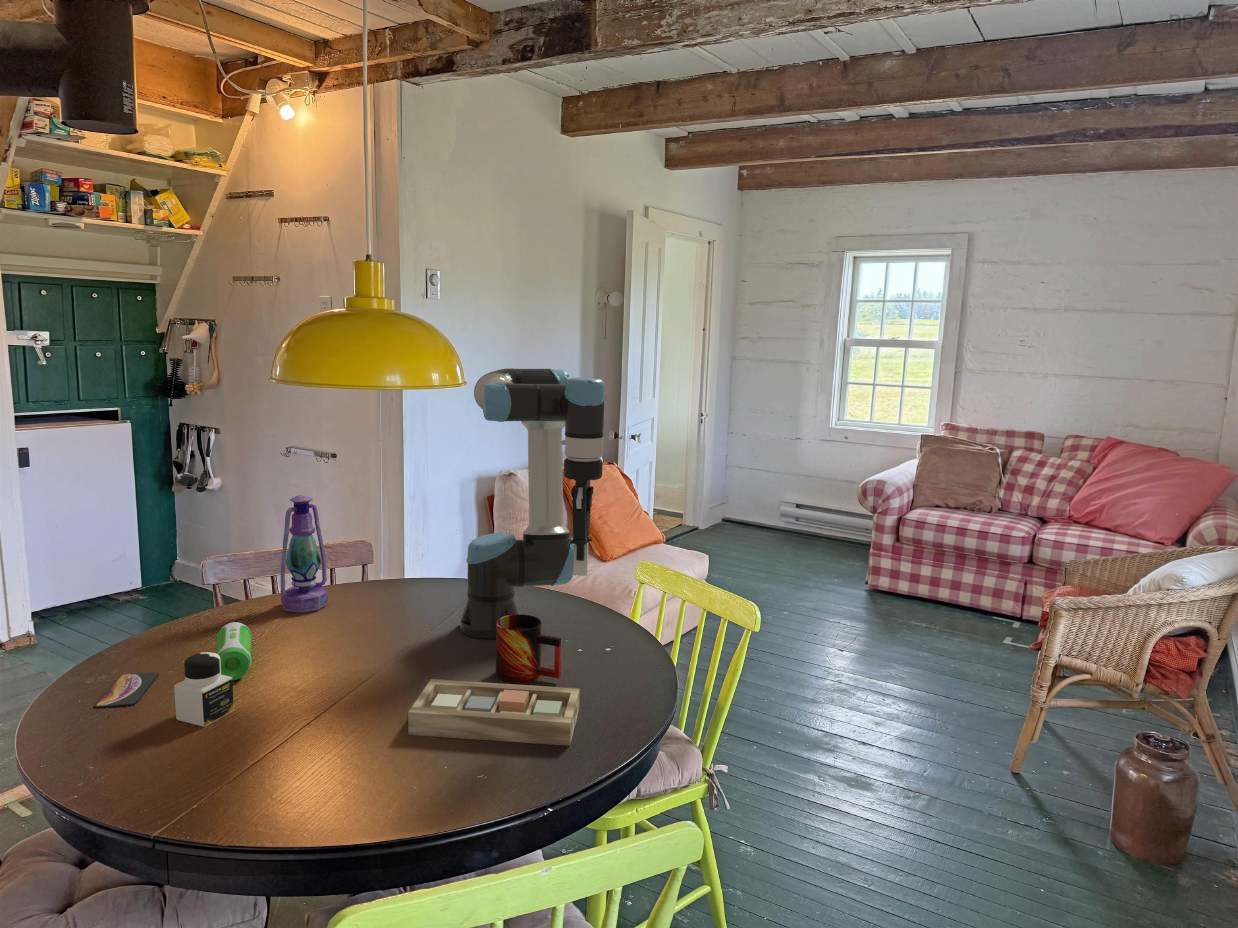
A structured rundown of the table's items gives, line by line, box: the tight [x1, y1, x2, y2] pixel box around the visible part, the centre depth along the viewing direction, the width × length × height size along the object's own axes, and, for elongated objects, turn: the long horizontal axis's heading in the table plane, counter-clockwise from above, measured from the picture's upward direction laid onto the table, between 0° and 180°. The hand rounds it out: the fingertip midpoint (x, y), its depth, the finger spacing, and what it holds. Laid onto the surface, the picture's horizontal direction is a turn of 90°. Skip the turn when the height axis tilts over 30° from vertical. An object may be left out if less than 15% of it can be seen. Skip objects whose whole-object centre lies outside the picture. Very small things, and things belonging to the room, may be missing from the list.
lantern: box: [280, 494, 329, 614], centre depth 210 cm, size 13×12×30 cm
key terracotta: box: [499, 690, 529, 713], centre depth 154 cm, size 5×5×2 cm
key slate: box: [465, 696, 496, 712], centre depth 155 cm, size 5×5×2 cm
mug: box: [495, 613, 562, 685], centre depth 176 cm, size 10×14×12 cm
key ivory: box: [431, 694, 463, 710], centre depth 156 cm, size 5×5×2 cm
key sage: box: [533, 700, 562, 717], centre depth 154 cm, size 5×5×2 cm
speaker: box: [214, 621, 253, 681], centre depth 175 cm, size 18×7×8 cm, turn 24°
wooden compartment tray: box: [407, 678, 581, 747], centre depth 155 cm, size 14×30×4 cm, turn 86°
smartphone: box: [93, 671, 160, 709], centre depth 163 cm, size 8×1×15 cm
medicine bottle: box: [174, 651, 235, 728], centre depth 153 cm, size 7×7×12 cm
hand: (580, 574), depth 162 cm, fingers closed
